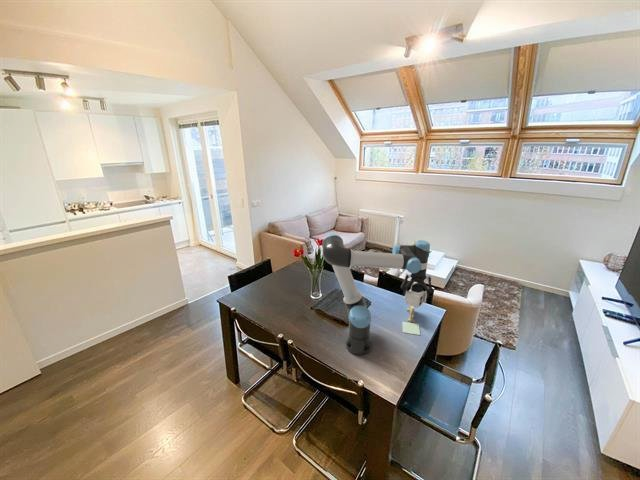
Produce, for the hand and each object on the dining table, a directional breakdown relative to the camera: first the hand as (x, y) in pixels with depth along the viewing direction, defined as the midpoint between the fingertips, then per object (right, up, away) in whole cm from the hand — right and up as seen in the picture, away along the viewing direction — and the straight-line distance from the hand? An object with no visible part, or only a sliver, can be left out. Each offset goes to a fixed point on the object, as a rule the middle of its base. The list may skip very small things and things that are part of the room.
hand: (414, 300), depth 158 cm
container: (0, -2, +1) cm, 2 cm away
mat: (0, -19, +8) cm, 21 cm away
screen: (+4, -15, +19) cm, 25 cm away
